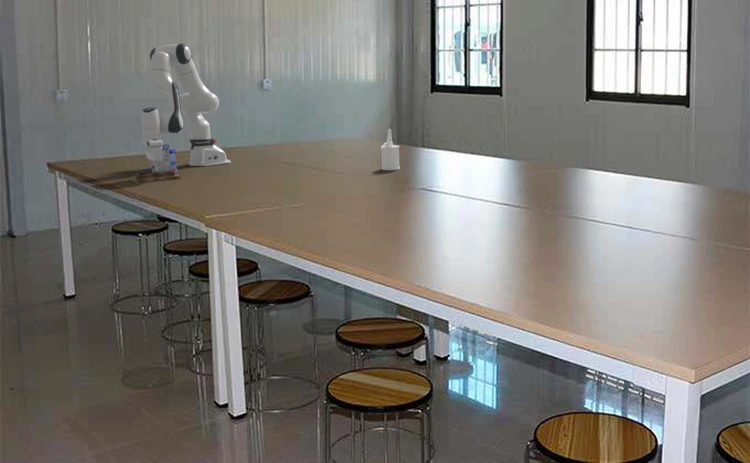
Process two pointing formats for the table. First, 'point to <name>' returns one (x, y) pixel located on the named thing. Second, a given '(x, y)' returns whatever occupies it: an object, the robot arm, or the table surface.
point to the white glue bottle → (390, 154)
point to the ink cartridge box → (168, 158)
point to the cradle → (155, 177)
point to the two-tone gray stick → (152, 170)
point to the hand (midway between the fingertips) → (154, 169)
